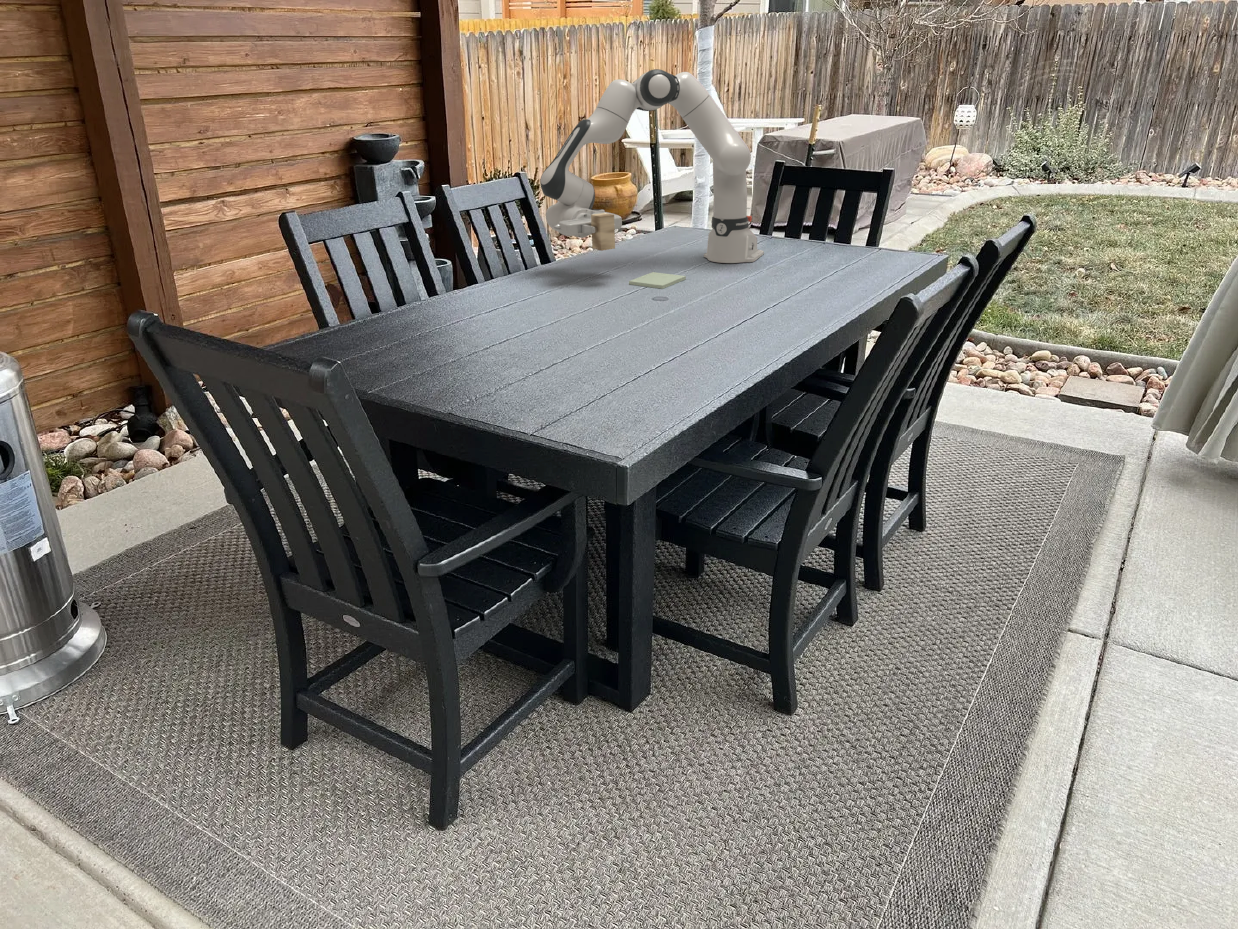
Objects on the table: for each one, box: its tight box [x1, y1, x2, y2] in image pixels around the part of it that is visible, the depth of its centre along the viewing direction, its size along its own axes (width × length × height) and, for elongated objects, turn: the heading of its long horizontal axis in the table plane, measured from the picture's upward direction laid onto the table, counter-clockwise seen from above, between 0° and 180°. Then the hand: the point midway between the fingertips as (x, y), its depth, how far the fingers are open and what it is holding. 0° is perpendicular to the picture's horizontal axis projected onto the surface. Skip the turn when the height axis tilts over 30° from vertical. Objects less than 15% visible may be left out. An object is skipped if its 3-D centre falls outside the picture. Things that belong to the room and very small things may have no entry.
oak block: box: [591, 212, 616, 251], centre depth 278 cm, size 5×5×10 cm
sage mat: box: [628, 271, 687, 290], centre depth 284 cm, size 14×12×1 cm
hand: (604, 228), depth 276 cm, fingers closed on oak block, 5 cm apart
